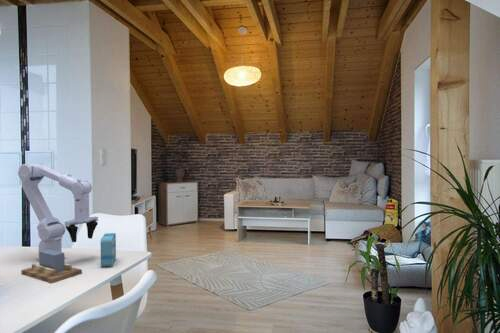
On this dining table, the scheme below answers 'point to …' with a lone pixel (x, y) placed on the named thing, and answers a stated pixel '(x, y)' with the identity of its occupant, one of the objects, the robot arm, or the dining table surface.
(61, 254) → the slate blue book
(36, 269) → the shelf board
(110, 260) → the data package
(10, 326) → the dining table surface
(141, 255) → the dining table surface
